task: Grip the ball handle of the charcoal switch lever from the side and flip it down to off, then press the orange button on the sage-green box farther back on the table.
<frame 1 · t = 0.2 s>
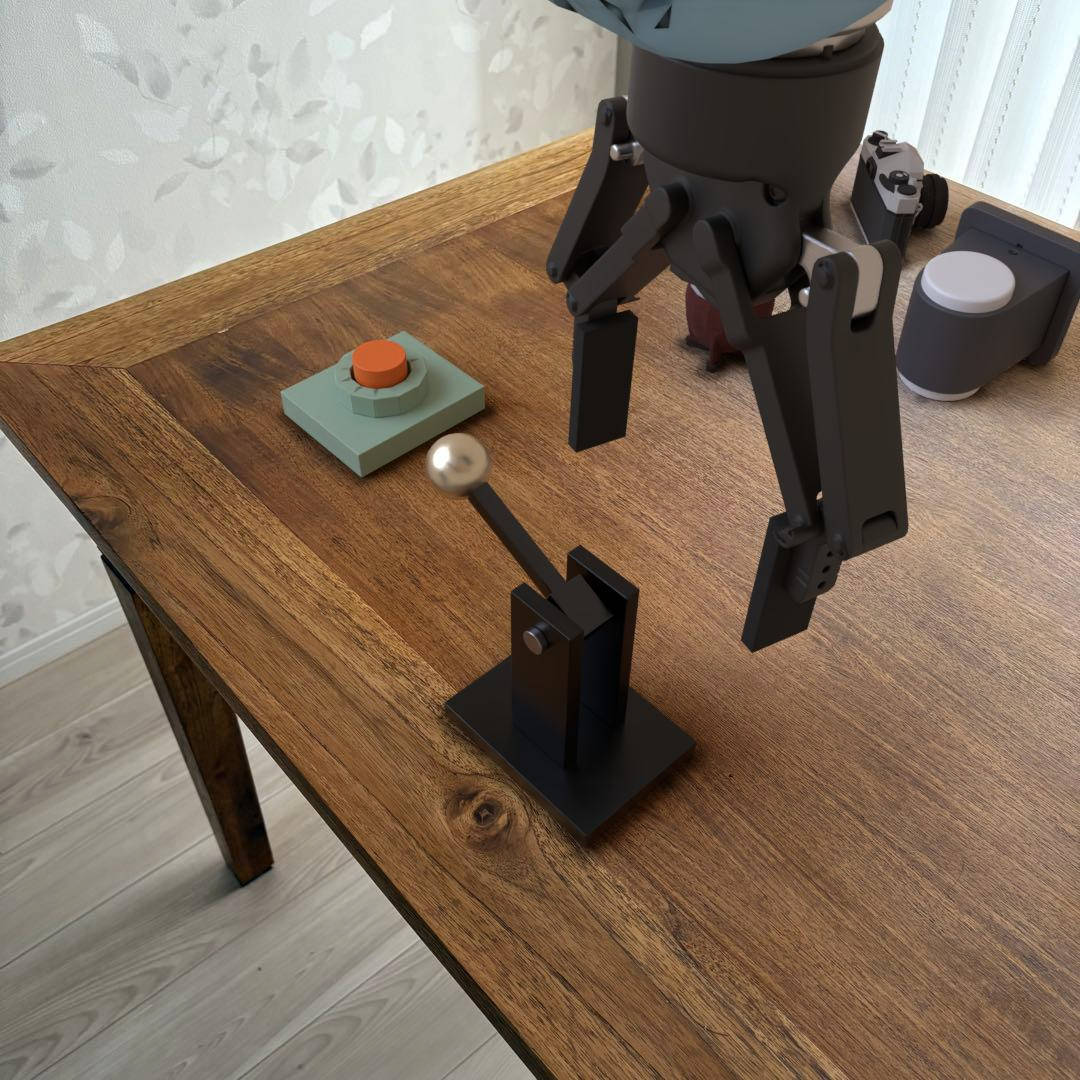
hand: (677, 529, 48), 21 cm above the table, tool pointing down, fingers open, 13 cm apart
button box: (385, 411, 87), on the table
start button: (380, 364, 83), point 4 cm above the table, slide at 0.1 cm
mate gourd: (725, 356, 93), on the table
switch lever: (513, 536, 59), point 13 cm above the table, hinge at 25.0°
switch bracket: (568, 734, 66), on the table
light fixture: (954, 367, 92), on the table
camera: (895, 232, 107), on the table
vase: (715, 218, 108), on the table
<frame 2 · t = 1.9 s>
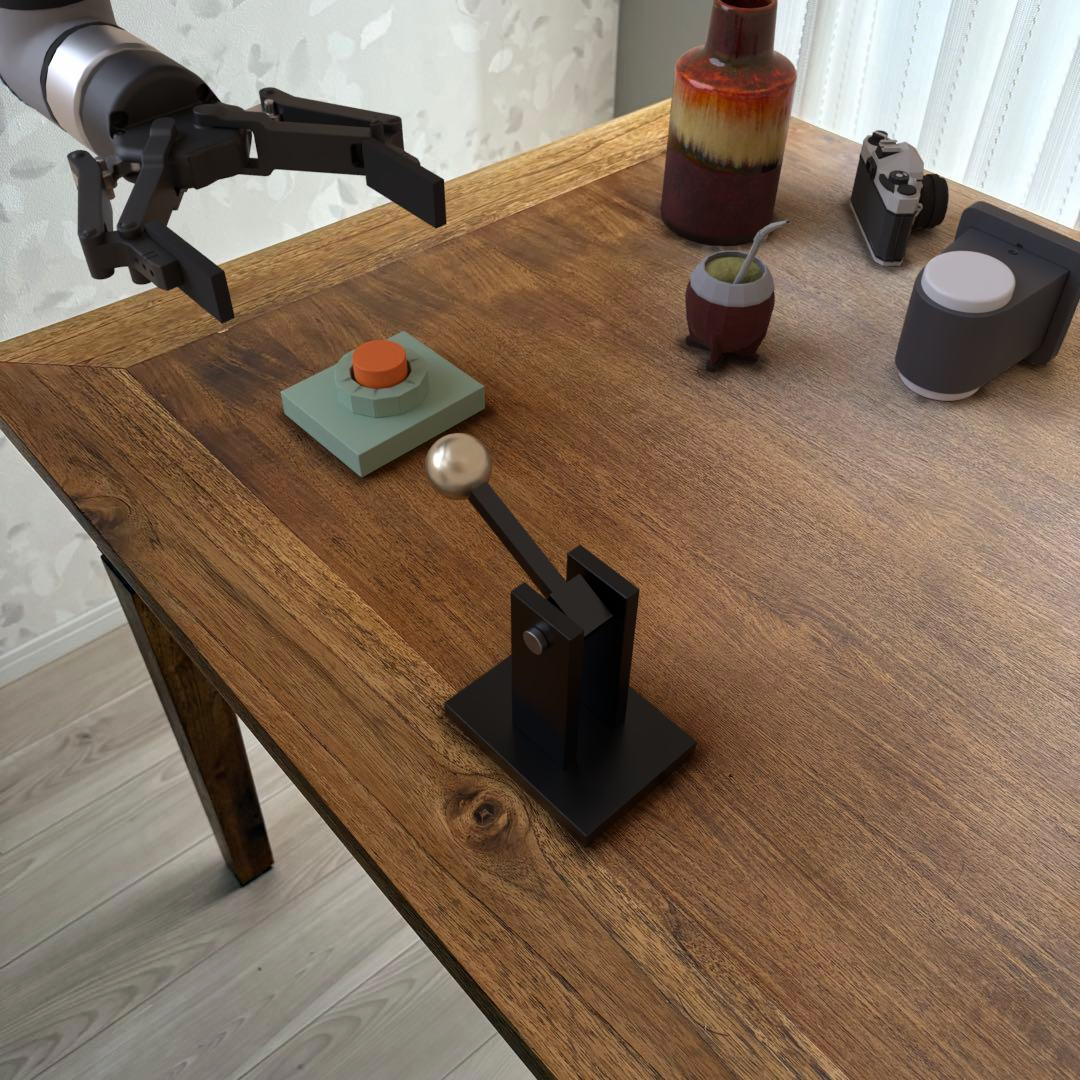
hand: (338, 248, 58), 24 cm above the table, tool horizontal, fingers open, 13 cm apart
nothing on the table moved.
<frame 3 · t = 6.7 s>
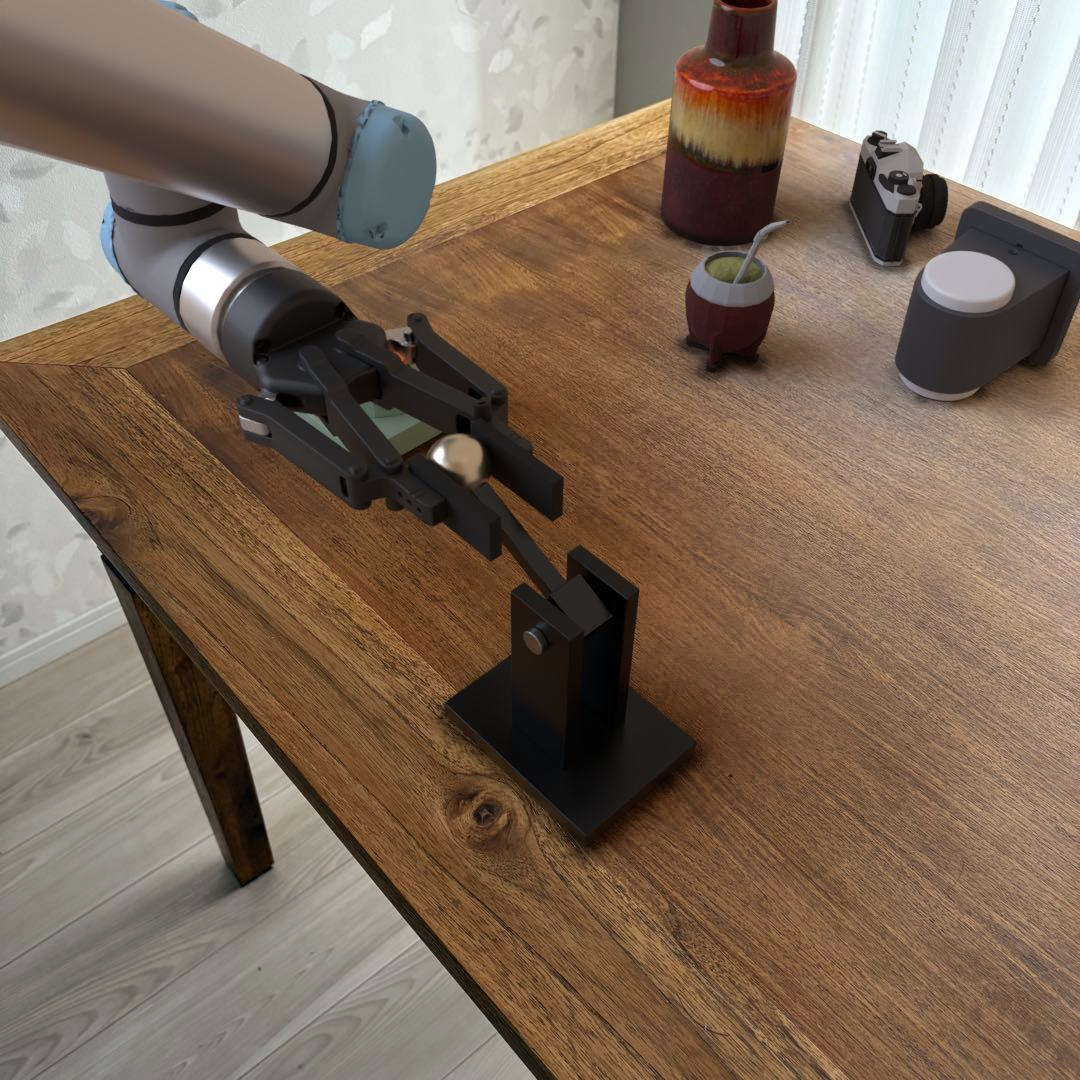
hand: (527, 518, 57), 15 cm above the table, tool horizontal, fingers closed on switch lever, 4 cm apart
switch lever: (513, 536, 59), point 13 cm above the table, hinge at 25.0°, touching gripper
everything else where it was.
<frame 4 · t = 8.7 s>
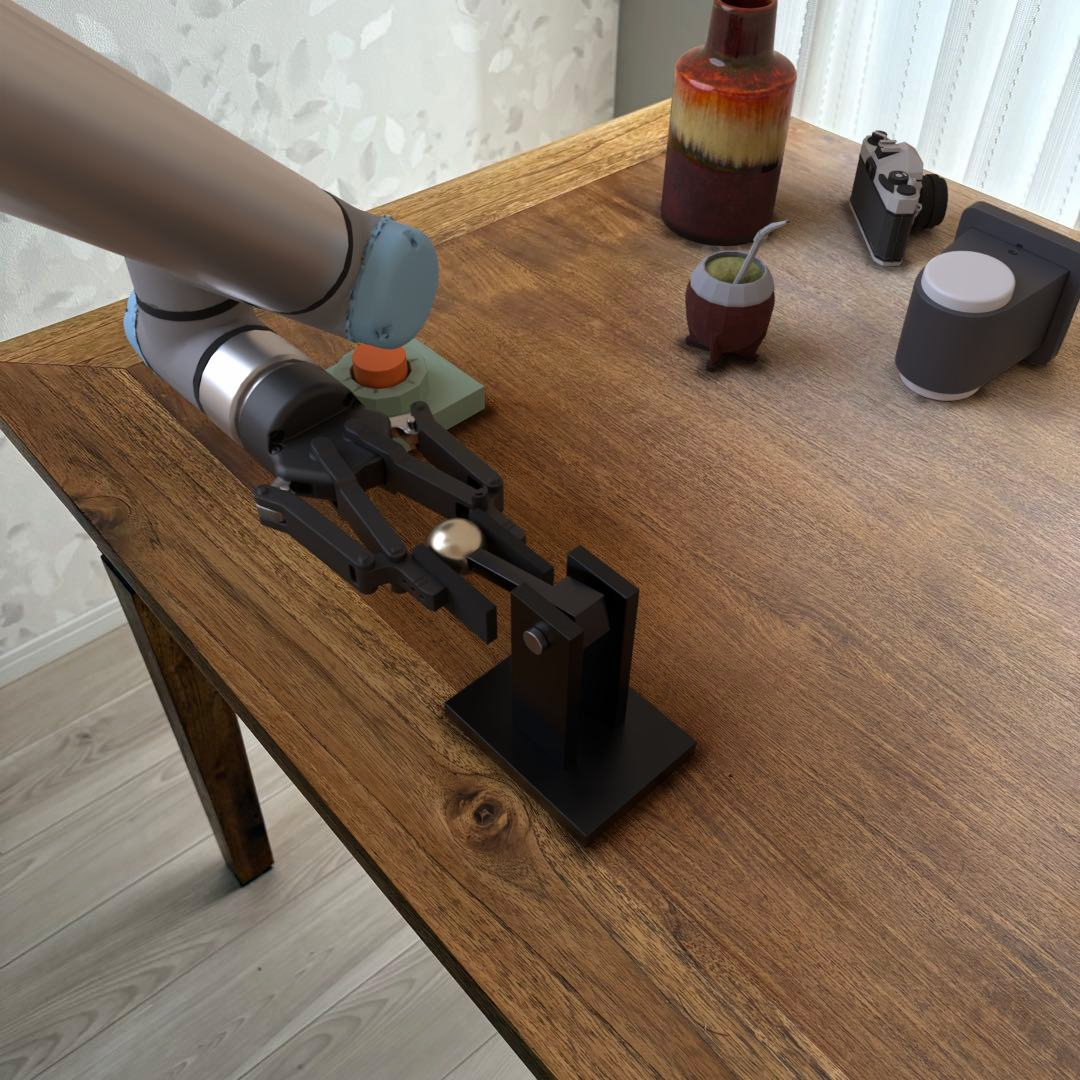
hand: (520, 605, 62), 8 cm above the table, tool horizontal, fingers closed on switch lever, 4 cm apart
switch lever: (509, 577, 61), point 10 cm above the table, hinge at -14.8°, touching gripper
everything else where it was.
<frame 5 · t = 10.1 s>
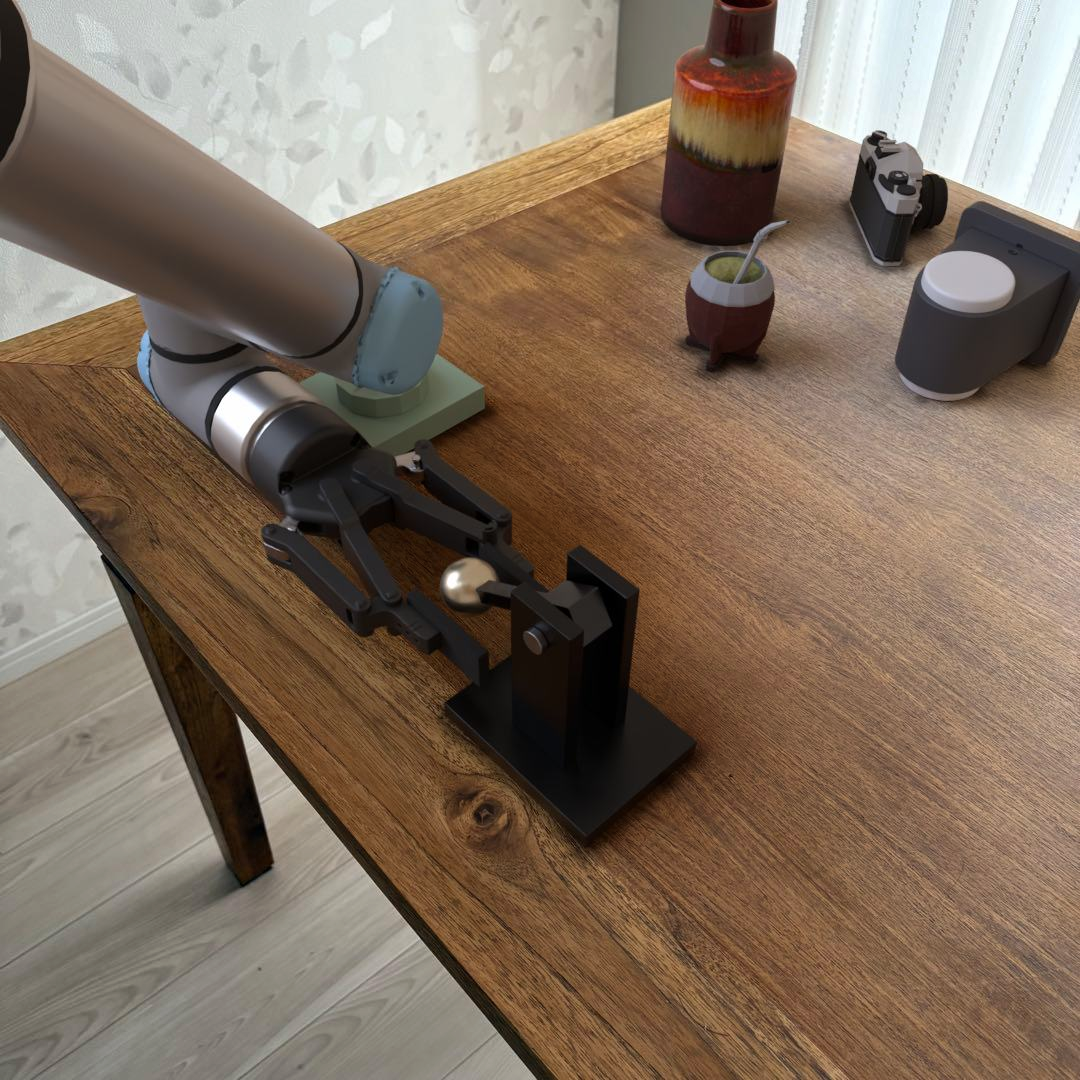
hand: (520, 643, 64), 5 cm above the table, tool horizontal, fingers open, 5 cm apart
switch lever: (516, 599, 62), point 8 cm above the table, hinge at -30.5°
everything else where it was.
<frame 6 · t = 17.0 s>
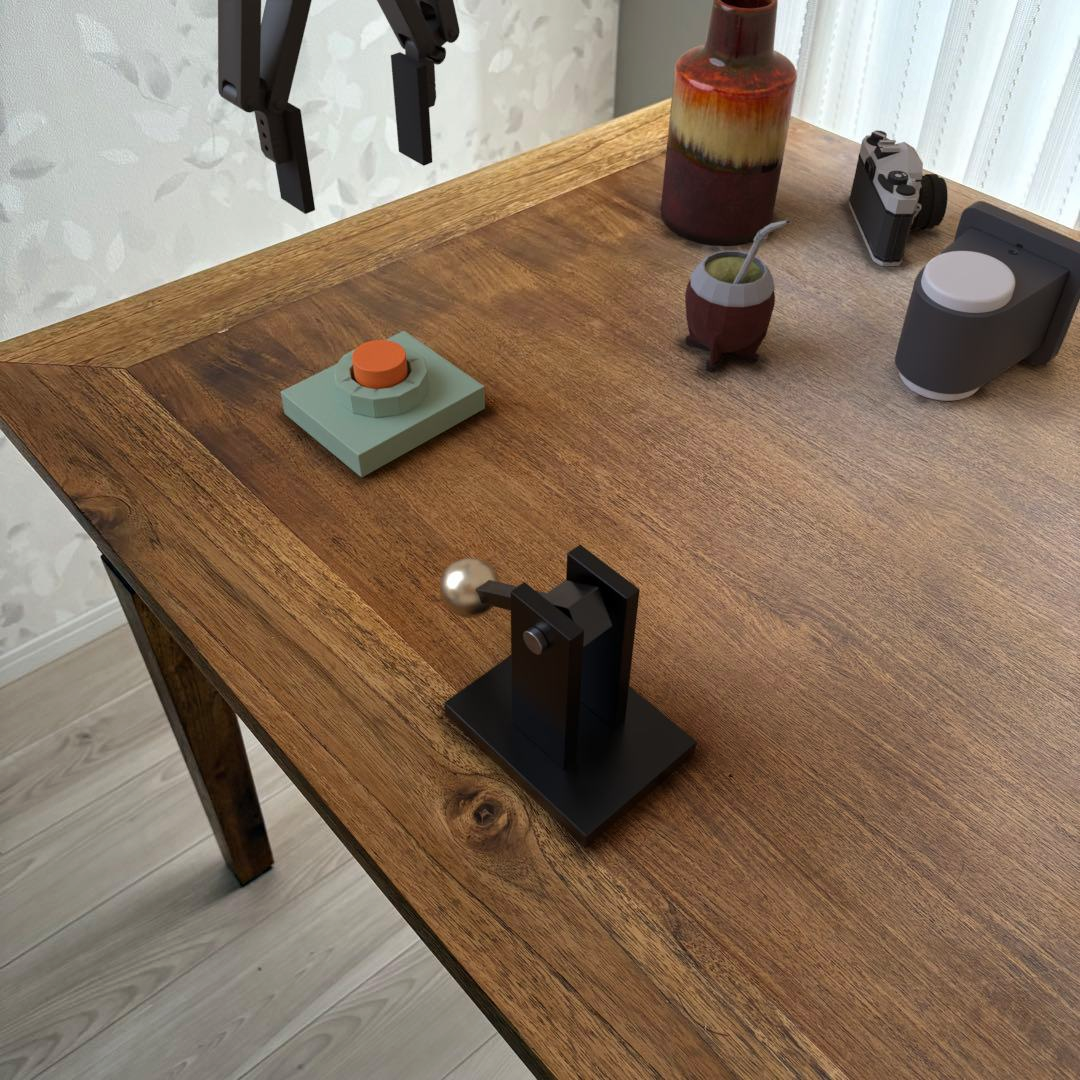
hand: (358, 179, 73), 19 cm above the table, tool pointing down, fingers open, 9 cm apart
nothing on the table moved.
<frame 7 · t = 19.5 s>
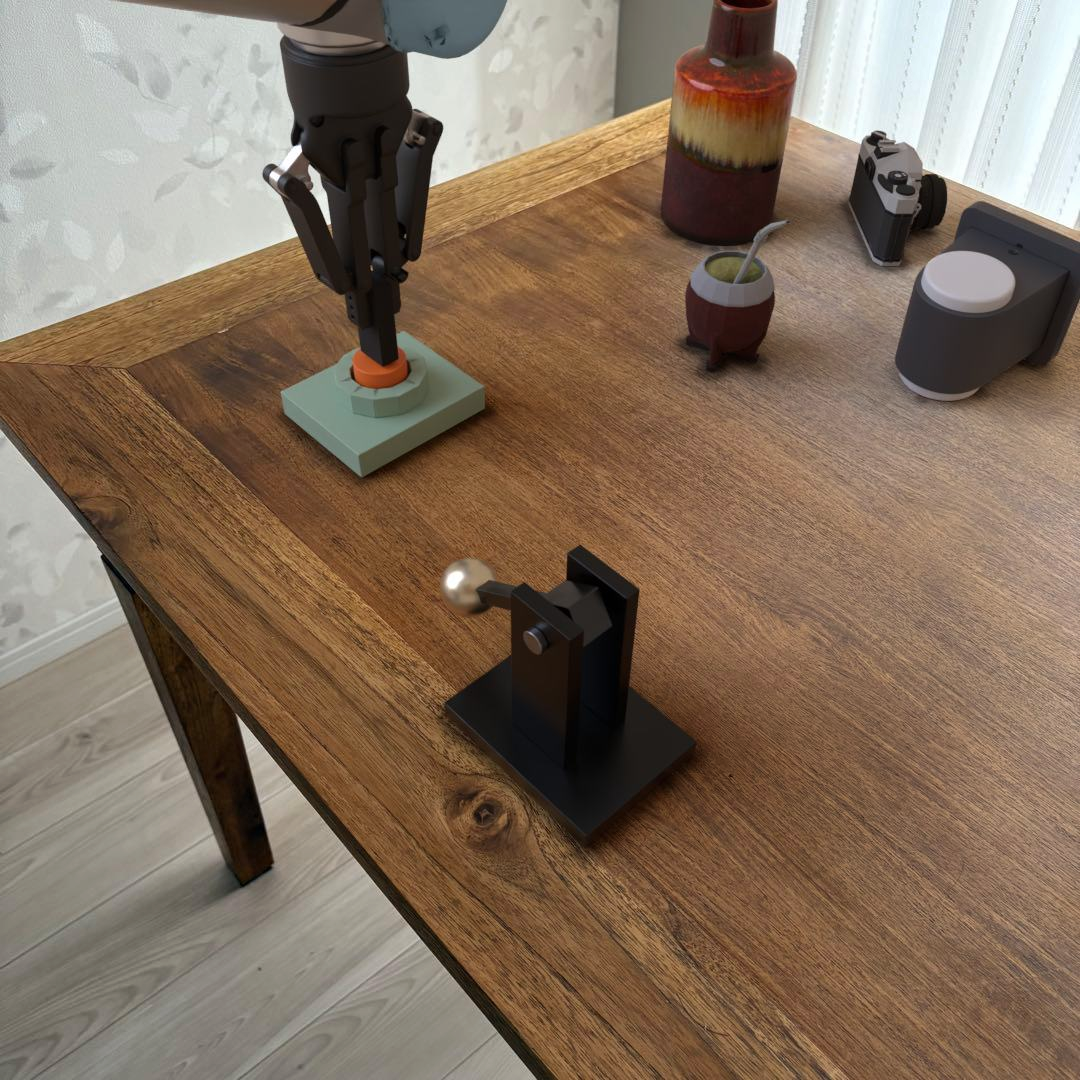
hand: (379, 354, 83), 5 cm above the table, tool pointing down, fingers closed
start button: (380, 367, 84), point 4 cm above the table, slide at -0.2 cm, touching gripper
everything else where it was.
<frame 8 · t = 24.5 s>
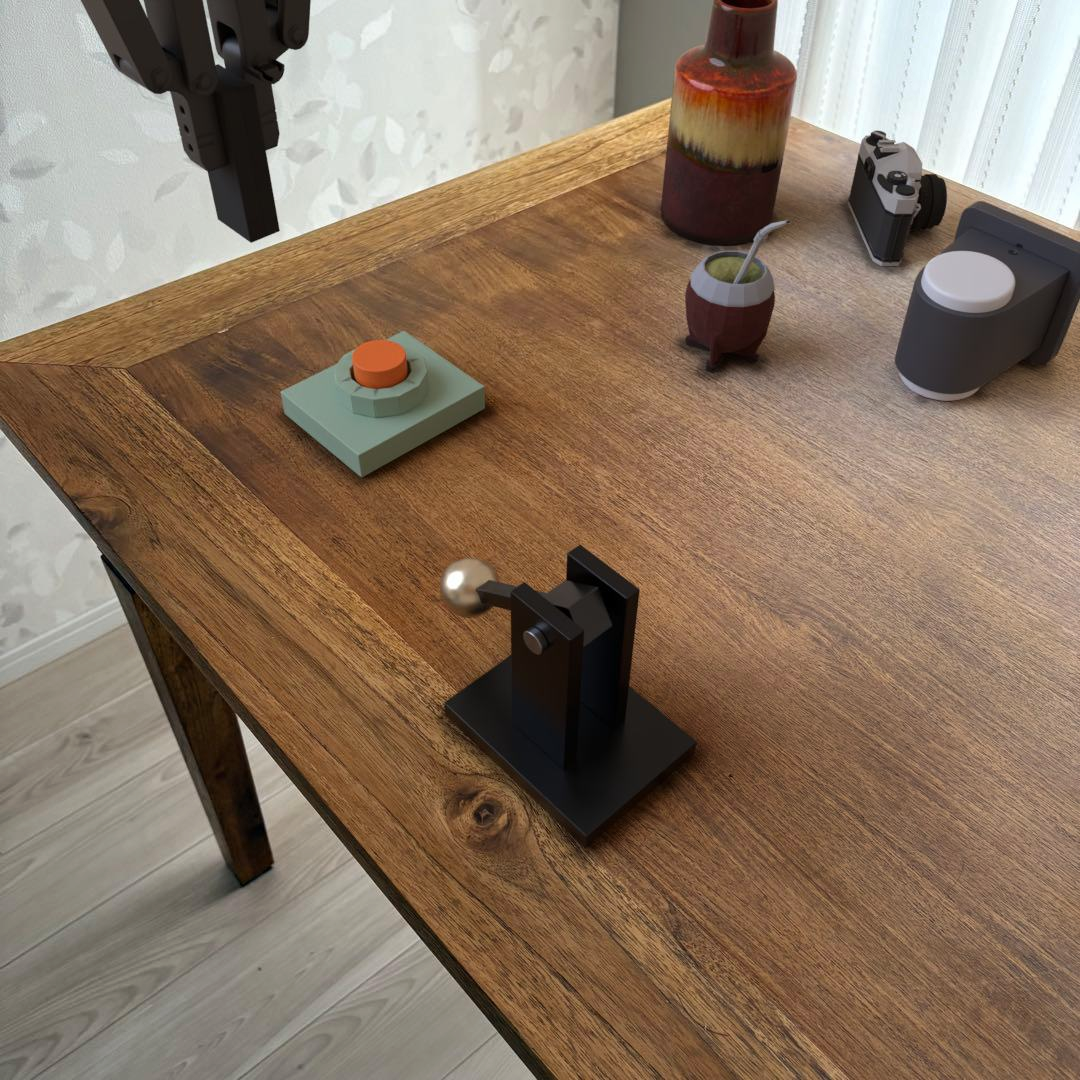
hand: (248, 224, 49), 29 cm above the table, tool pointing down, fingers closed
start button: (380, 364, 83), point 4 cm above the table, slide at 0.1 cm
everything else where it was.
at the end: switch lever at -30° (first picture: +25°); start button pushed in 1.0 cm at the most during the clip, back to where it started at the end; start button slide at 0.1 cm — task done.
